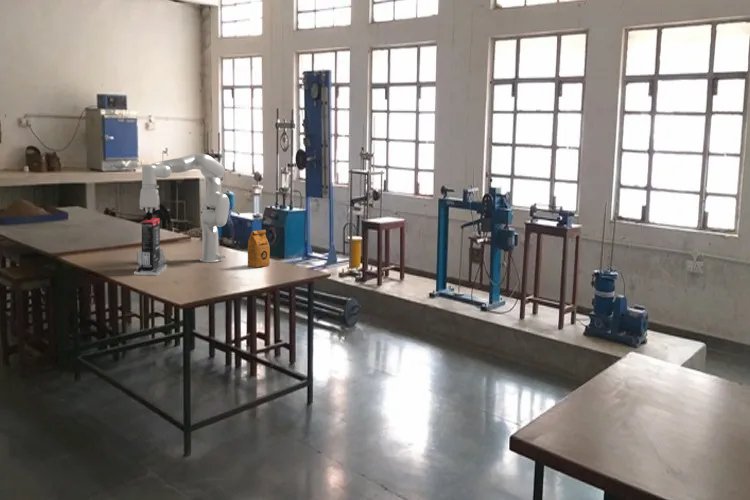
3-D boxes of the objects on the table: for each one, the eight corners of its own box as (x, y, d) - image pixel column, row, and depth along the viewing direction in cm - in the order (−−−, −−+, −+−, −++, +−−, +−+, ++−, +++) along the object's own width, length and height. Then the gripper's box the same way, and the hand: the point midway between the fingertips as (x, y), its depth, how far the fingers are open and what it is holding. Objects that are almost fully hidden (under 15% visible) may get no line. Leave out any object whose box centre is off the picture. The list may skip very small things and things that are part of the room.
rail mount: (167, 267, 398) (166, 261, 397) (158, 275, 376) (158, 269, 376) (144, 266, 397) (144, 260, 396) (134, 274, 375) (133, 268, 375)
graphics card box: (149, 263, 395) (147, 217, 390) (161, 264, 395) (160, 217, 390) (141, 270, 378) (140, 221, 373) (154, 270, 379) (153, 221, 374)
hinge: (138, 265, 400) (136, 248, 401) (136, 266, 404) (134, 249, 405) (166, 262, 410) (164, 246, 411) (164, 263, 414) (162, 247, 415)
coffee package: (272, 266, 411) (272, 230, 407) (255, 269, 402) (256, 232, 398) (261, 263, 418) (262, 228, 414) (245, 266, 408) (245, 230, 405)
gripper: (164, 187, 382) (164, 219, 385) (137, 185, 381) (137, 218, 384) (161, 188, 375) (161, 221, 378) (133, 187, 374) (134, 220, 377)
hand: (149, 219), depth 381 cm, fingers closed
